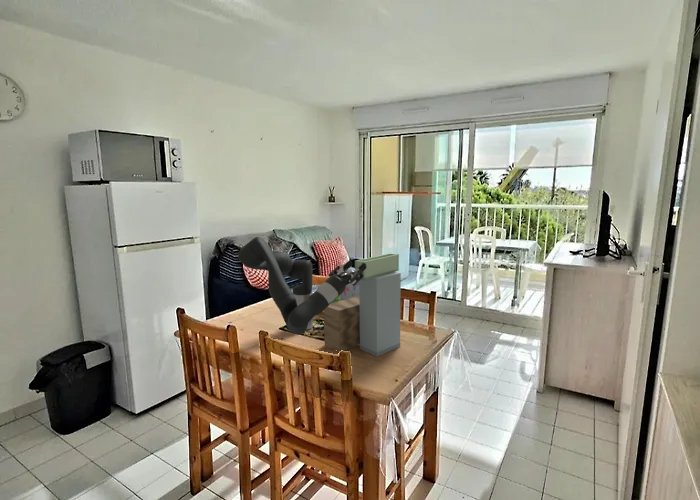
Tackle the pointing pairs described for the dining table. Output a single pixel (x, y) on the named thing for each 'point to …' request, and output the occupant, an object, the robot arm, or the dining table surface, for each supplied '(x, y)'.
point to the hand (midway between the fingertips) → (358, 263)
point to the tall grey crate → (380, 313)
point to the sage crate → (379, 265)
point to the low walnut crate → (342, 324)
